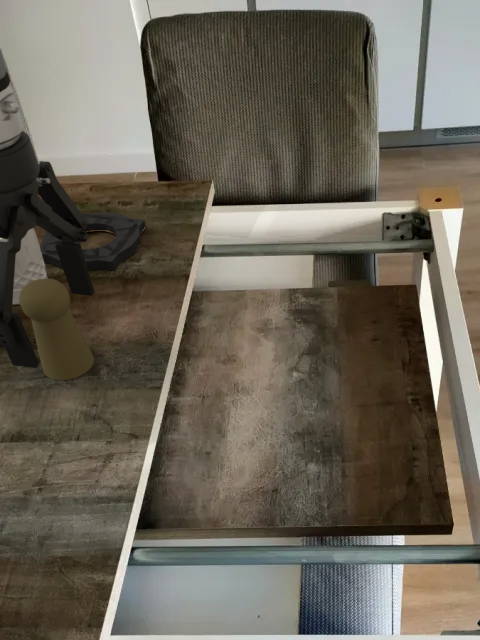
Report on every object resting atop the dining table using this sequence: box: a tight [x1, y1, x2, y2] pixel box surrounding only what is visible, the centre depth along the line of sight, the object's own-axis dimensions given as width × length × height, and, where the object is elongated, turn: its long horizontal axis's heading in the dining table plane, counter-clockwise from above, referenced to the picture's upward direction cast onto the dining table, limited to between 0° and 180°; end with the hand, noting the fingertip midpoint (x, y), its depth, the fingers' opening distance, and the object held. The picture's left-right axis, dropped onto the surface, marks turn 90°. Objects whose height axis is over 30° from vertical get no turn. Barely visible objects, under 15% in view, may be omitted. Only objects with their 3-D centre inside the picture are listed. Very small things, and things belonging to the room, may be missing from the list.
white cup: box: [0, 227, 49, 306], centre depth 86 cm, size 8×8×10 cm
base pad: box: [40, 211, 147, 271], centre depth 97 cm, size 14×14×2 cm
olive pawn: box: [19, 278, 95, 381], centre depth 75 cm, size 6×6×11 cm
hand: (56, 326), depth 75 cm, fingers open, 13 cm apart
